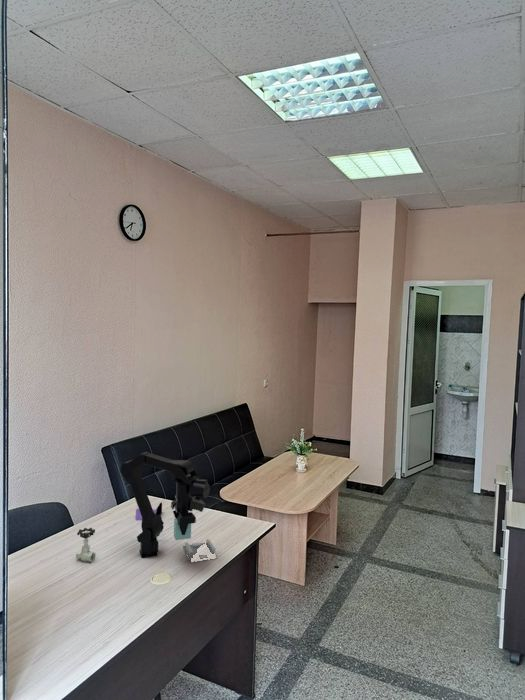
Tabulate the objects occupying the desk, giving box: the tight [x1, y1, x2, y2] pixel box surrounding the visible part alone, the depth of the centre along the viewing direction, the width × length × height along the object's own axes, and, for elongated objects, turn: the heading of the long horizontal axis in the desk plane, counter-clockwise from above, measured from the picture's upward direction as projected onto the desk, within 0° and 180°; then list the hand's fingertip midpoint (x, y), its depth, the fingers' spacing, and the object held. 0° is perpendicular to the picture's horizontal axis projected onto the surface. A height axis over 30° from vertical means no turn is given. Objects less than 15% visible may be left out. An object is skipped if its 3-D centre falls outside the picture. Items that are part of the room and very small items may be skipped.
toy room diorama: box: [135, 502, 163, 522], centre depth 228 cm, size 12×12×7 cm
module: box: [173, 518, 192, 541], centre depth 187 cm, size 6×4×7 cm
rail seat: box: [182, 538, 216, 562], centre depth 195 cm, size 11×14×3 cm
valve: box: [75, 527, 97, 563], centre depth 186 cm, size 7×7×12 cm
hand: (182, 532), depth 187 cm, fingers closed on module, 4 cm apart
